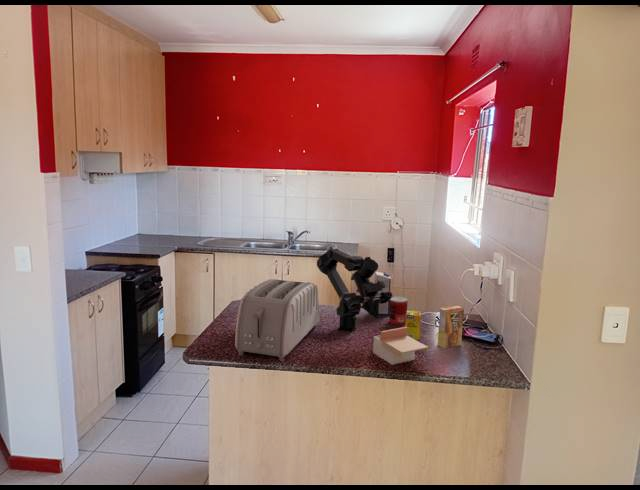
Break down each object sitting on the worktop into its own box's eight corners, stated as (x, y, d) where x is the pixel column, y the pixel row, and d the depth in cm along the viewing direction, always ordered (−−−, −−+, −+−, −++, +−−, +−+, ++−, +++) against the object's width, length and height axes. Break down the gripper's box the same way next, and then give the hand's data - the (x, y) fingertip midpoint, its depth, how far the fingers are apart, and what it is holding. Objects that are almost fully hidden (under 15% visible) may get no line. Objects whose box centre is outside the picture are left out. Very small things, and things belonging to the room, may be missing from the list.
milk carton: (373, 311, 229) (374, 270, 225) (387, 311, 229) (389, 271, 225) (375, 315, 222) (376, 274, 218) (389, 316, 222) (391, 274, 218)
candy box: (454, 341, 191) (456, 305, 189) (461, 345, 188) (464, 308, 185) (436, 345, 188) (439, 307, 185) (444, 348, 184) (446, 311, 181)
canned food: (408, 321, 215) (410, 298, 213) (402, 326, 208) (403, 302, 206) (393, 318, 219) (394, 295, 217) (386, 323, 212) (387, 299, 210)
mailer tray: (373, 352, 179) (373, 336, 178) (394, 348, 183) (395, 332, 182) (392, 365, 168) (392, 347, 167) (414, 360, 173) (415, 343, 172)
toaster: (228, 358, 171) (227, 299, 168) (275, 320, 214) (276, 271, 210) (283, 367, 165) (283, 305, 161) (321, 325, 208) (322, 276, 204)
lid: (379, 345, 173) (380, 331, 172) (404, 340, 178) (405, 326, 177) (401, 358, 162) (402, 343, 161) (427, 353, 167) (428, 338, 166)
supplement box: (419, 341, 191) (421, 315, 189) (404, 340, 192) (405, 314, 190) (419, 336, 196) (421, 311, 194) (404, 335, 198) (406, 310, 196)
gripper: (351, 276, 180) (366, 312, 173) (391, 271, 189) (407, 306, 182) (340, 290, 189) (353, 325, 181) (379, 285, 197) (393, 319, 190)
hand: (377, 318), depth 183 cm, fingers closed
